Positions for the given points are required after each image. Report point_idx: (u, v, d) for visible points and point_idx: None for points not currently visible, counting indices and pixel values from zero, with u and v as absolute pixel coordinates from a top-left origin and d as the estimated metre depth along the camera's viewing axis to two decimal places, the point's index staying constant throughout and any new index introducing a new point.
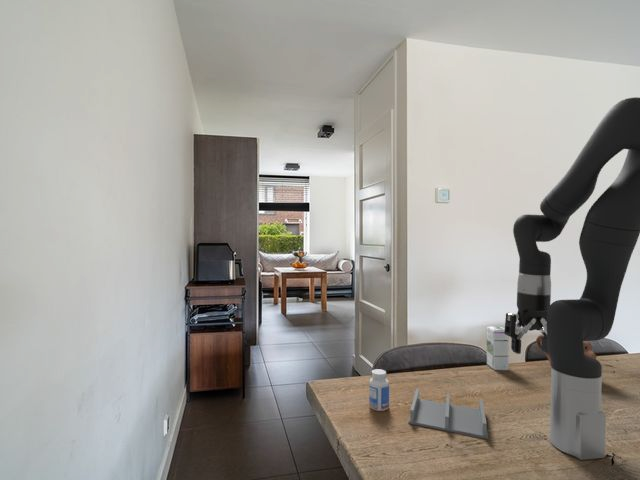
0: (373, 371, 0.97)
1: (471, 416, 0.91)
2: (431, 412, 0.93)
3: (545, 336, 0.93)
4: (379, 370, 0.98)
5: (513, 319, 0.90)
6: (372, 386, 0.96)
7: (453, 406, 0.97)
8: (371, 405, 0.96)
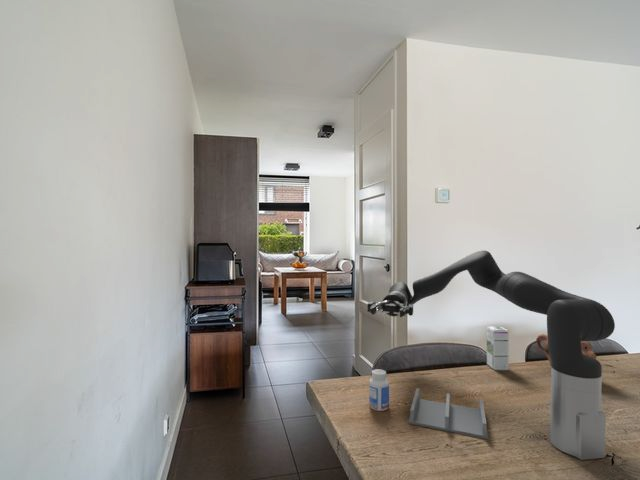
0: (373, 371, 0.97)
1: (471, 416, 0.91)
2: (431, 412, 0.93)
3: None
4: (379, 370, 0.98)
5: None
6: (372, 386, 0.96)
7: (453, 406, 0.97)
8: (371, 405, 0.96)
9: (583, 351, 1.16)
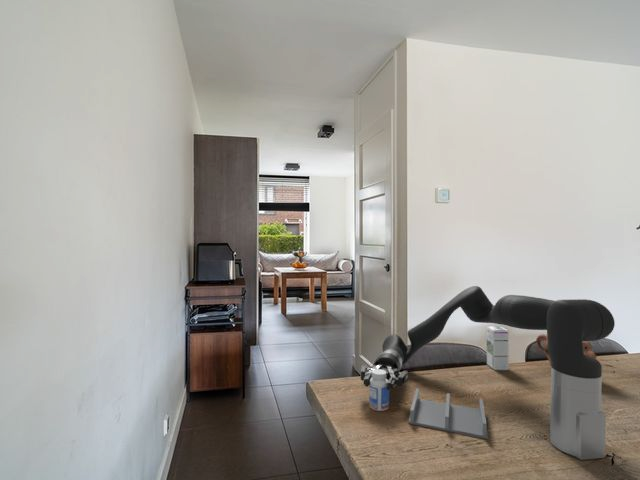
0: (373, 371, 0.97)
1: (471, 416, 0.91)
2: (431, 412, 0.93)
3: (370, 377, 1.00)
4: (379, 370, 0.98)
5: None
6: (372, 386, 0.96)
7: (453, 406, 0.97)
8: (371, 405, 0.96)
9: (583, 351, 1.16)
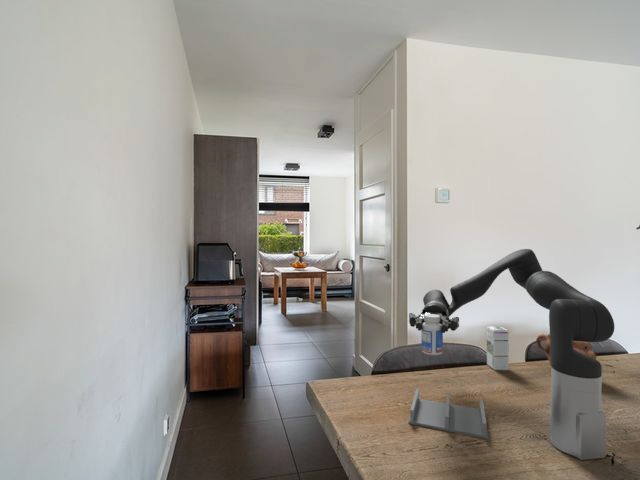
0: (426, 315, 0.93)
1: (471, 416, 0.91)
2: (431, 412, 0.93)
3: None
4: (431, 314, 0.94)
5: None
6: (425, 330, 0.92)
7: (453, 406, 0.97)
8: (424, 349, 0.92)
9: (583, 351, 1.16)
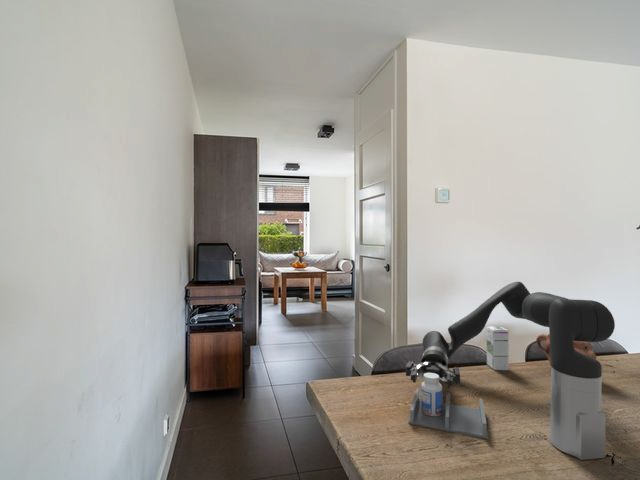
0: (425, 375, 0.94)
1: (471, 416, 0.91)
2: None
3: None
4: (431, 374, 0.94)
5: None
6: (425, 391, 0.92)
7: (453, 406, 0.97)
8: (424, 410, 0.92)
9: (583, 351, 1.16)
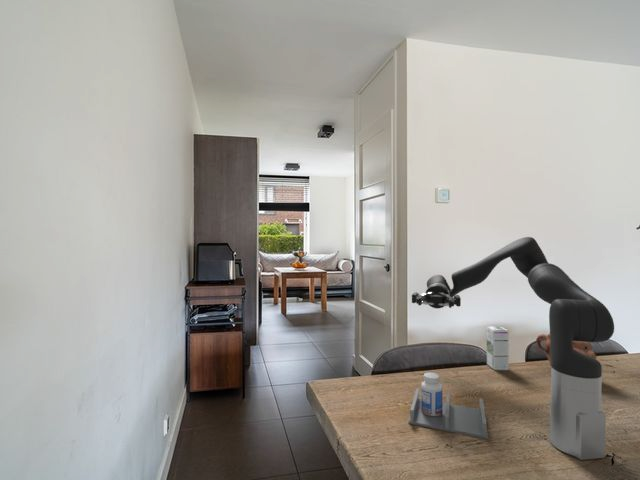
0: (425, 375, 0.94)
1: (471, 416, 0.91)
2: None
3: None
4: (431, 374, 0.94)
5: None
6: (425, 390, 0.92)
7: (453, 406, 0.97)
8: (424, 410, 0.92)
9: (583, 351, 1.16)
